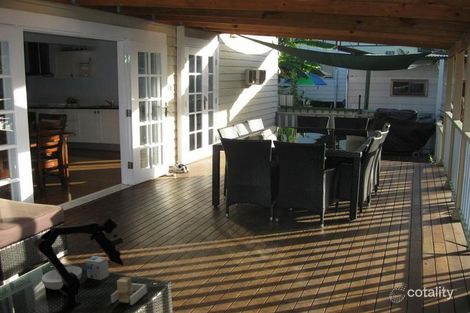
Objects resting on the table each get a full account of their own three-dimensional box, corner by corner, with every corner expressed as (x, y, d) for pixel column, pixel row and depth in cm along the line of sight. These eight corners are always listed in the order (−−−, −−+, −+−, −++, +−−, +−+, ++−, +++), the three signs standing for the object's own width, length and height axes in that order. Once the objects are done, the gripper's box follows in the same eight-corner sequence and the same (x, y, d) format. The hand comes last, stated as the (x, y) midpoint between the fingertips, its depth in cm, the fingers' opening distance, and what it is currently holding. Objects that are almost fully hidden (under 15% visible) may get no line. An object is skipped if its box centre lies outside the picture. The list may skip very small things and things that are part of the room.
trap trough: (132, 305, 227) (131, 297, 226) (111, 302, 232) (110, 295, 231) (147, 291, 240) (146, 284, 239) (127, 289, 244) (126, 282, 244)
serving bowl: (89, 276, 266) (87, 265, 265) (73, 293, 246) (71, 281, 245) (54, 277, 269) (52, 266, 267) (35, 295, 248) (33, 283, 247)
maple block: (127, 303, 230) (125, 282, 228) (119, 302, 232) (116, 281, 230) (133, 298, 234) (130, 277, 232) (125, 297, 236) (122, 276, 234)
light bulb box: (87, 278, 264) (84, 260, 262) (96, 273, 270) (93, 255, 268) (101, 280, 259) (99, 262, 257) (110, 275, 265) (107, 257, 263)
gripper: (119, 235, 235) (137, 257, 241) (111, 226, 252) (128, 246, 257) (101, 250, 232) (120, 271, 238) (94, 240, 248) (112, 260, 254)
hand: (120, 262), depth 247 cm, fingers open, 9 cm apart
